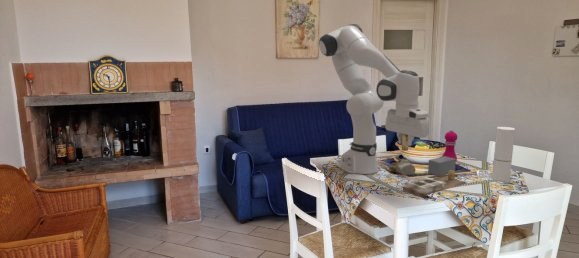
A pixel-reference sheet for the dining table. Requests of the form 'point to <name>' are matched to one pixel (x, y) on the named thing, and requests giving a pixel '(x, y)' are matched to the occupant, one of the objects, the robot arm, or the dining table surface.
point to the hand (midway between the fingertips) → (405, 144)
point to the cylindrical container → (503, 154)
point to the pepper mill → (450, 144)
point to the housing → (441, 166)
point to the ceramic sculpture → (403, 167)
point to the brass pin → (404, 142)
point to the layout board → (449, 185)
